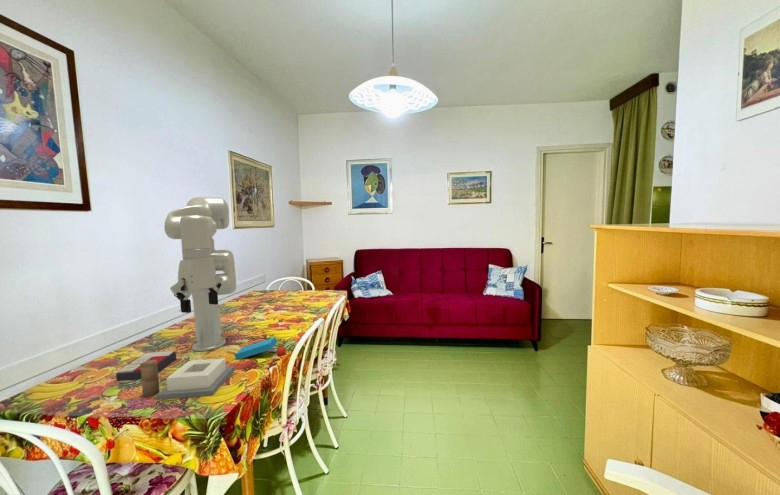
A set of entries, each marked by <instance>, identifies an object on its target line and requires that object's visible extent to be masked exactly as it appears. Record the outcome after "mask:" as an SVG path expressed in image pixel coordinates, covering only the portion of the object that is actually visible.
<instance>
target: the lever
mask: <svg viewBox="0 0 780 495" xmlns="http://www.w3.org/2000/svg"><path fill="white" fill-rule="evenodd" d="M277 343H278V341H277V337H272V338H268V339H265V340H262V341H259V342H256V343H253V344H249V345H247V346H243V347H241V348H240V349H239V350H238V351H237V352H235V354H234V357H235V359H236V361H237V360H241V359H244V358H248V357H251V356H254V355H257V354H261V353H263V352H275V353H277V355H279V356H283V355H285V354H286V353H287V352H286V349H287V348H286V347H285V346H279V347H278V348H274V347H275V346H276V344H277Z"/></svg>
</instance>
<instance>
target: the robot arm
mask: <svg viewBox="0 0 780 495" xmlns="http://www.w3.org/2000/svg"><path fill="white" fill-rule="evenodd" d="M229 208H230V207H229V205H228V202H227V201H226V200H225V199H224V198H222V197H202V196H201V197H200V196H199V197H198V196H197V197H192V198H190V200H189V201H188V202H187V204H186V206H185V207H181V208H177V209H174V210H171V211H170V212H168V214H167V215H166V218H165V220H164V225H163V226H164V232H165V234H166V236H167V237H168V238H170V239H172V240H181V242H180V243H181V252H182V253H181V255H182V260H179V264H178V271H177V282H176V283H174V284H173V285H172V286H170V288H169V289H170V290H171V291H170V292H171V293H172V294H173V296H174V297H175V298H177V300H178V301H179V303H180V304H179V305H180V311H181V313H184V314H189V313H191V312H192V305H193V314H194V318H193V319H194V328H195V329H194V330H195V331H194V332H195V341H196V343H194V344H193V345H192V346H191V348H192V350H193V351H194V352H206V351H212V350H216V349H218V348H220V347H223V346H224V345H225V344H226V339H225V338H224V337H222V335H223V334H224V332H225V331H224V329H222V326H221V322H222V321H221V310H220V303H219V297H218V296H221V295H222V296H223V295H231V294H233V293H235V291H236V290H237V277H236V264H235V263H236V262H235V256H234V253H233V252H232V251H231V250H229V249H216V248H215V240H214V238H213V237H214V236H215V235H216V233H217V230H225V229H227V228H228V227H229V225H230V209H229ZM217 272H223V273H217ZM190 296H191V297H192V302H191V299H190ZM191 303H192V304H191Z"/></svg>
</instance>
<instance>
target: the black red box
mask: <svg viewBox="0 0 780 495" xmlns="http://www.w3.org/2000/svg"><path fill="white" fill-rule="evenodd" d="M176 354H177V353H176V351H174V350H170V351H169V350H168V351H159V352H158V351H157V352H155V351H154V352H145V353H144V354H142V355H141V356H140V357H138V358H136V359H135V360H133V361H132V362H129V364H127V365H126V366H124V367H122V369H121V368H120V370H119V371H117V373H116V374H115V376H116V382H120V381H131V380H132V381H133V380H134V381H135V380H142V379H141V367H140V364H141V363H143V362H146V361H149V360H157V367H158V374H159V373H160V372H161V371H164V369H166V367H168V366H169V365H171V364H172V363H174V362H175V361H176V360H177V355H176Z"/></svg>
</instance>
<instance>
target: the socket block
mask: <svg viewBox="0 0 780 495" xmlns="http://www.w3.org/2000/svg"><path fill="white" fill-rule="evenodd" d="M233 372H235V365H234V366H233V365H231V366H227V364H226V358H223V357H222V358H211V359H210V358H209V359H197V360H196V359H195V360H188V361H186V362H185V363H184V364H183V365H182V366H181V367H179V368H177V369H176V371H174V372H173V373H171V374H170V375H169V376H168V377H166V386H165V387H164V388H163V389H162V390H159V393H158V394H156V395H155V399H156V401H160V399H162V400H170V399H171V400H172V399H182V398H185V399H186V398H196V397H205V396H214V394H215V393H216V392H218V390H219V388H220V387H222V385H223V384H224V383H225V382H226V381H227V379H229V377H230V376H231V375H232V374H233Z"/></svg>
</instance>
